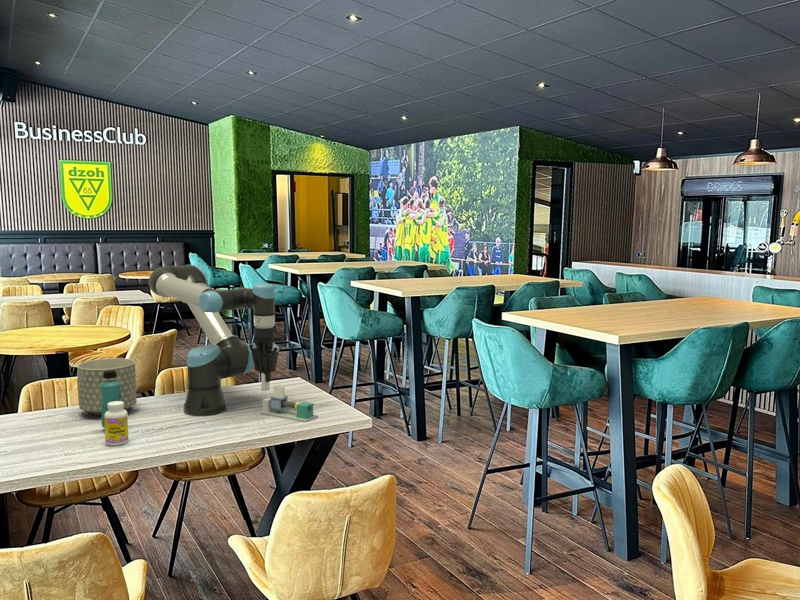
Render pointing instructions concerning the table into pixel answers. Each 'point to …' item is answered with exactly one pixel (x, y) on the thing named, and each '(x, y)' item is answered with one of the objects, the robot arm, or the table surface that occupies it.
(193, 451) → the table surface
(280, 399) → the pale blue hollow box
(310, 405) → the slider rail
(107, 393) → the beverage bottle
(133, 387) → the planter
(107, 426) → the supplement bottle
